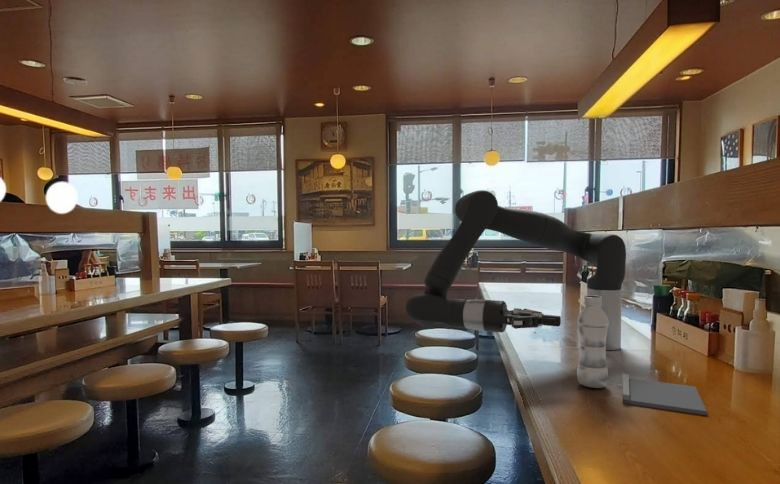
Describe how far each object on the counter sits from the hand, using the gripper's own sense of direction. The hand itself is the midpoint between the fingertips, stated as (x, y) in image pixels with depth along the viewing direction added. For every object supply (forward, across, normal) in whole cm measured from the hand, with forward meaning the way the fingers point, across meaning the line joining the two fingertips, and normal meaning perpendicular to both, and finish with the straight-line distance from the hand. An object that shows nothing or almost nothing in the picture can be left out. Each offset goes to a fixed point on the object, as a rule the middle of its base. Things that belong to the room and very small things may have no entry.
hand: (560, 321), depth 105 cm
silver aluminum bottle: (+7, 0, +14) cm, 16 cm away
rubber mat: (+20, 0, +14) cm, 24 cm away
